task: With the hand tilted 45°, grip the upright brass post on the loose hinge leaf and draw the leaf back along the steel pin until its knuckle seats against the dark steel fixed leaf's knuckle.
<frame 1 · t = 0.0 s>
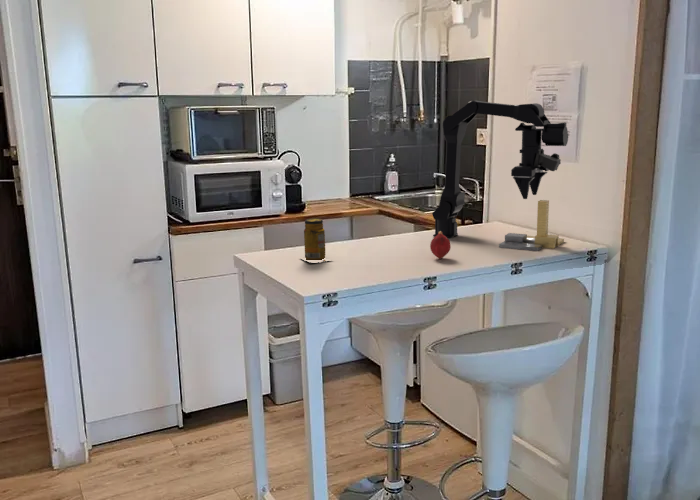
hand: (529, 196, 204), 15 cm above the table, tool pointing down, fingers open, 9 cm apart
fixed leaf: (506, 242, 209), on the table
onion: (440, 259, 191), on the table
loose leaf: (540, 221, 205), point 7 cm above the table, slide at 3.5 cm
condiment: (316, 261, 194), on the table
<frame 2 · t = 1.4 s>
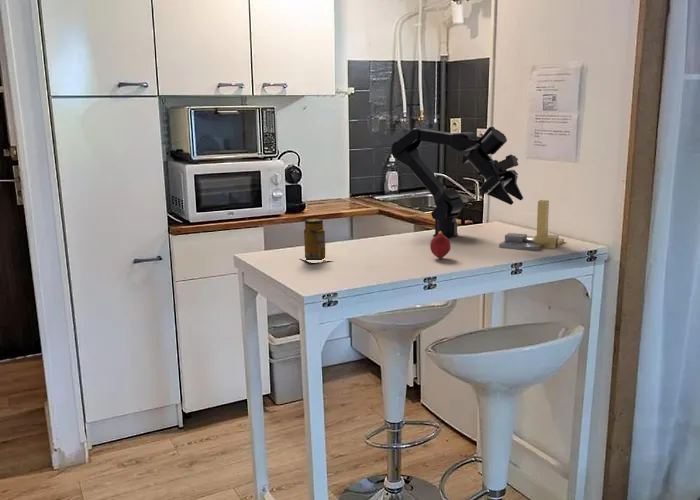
hand: (517, 201, 204), 13 cm above the table, tool tilted 45°, fingers open, 9 cm apart
nothing on the table moved.
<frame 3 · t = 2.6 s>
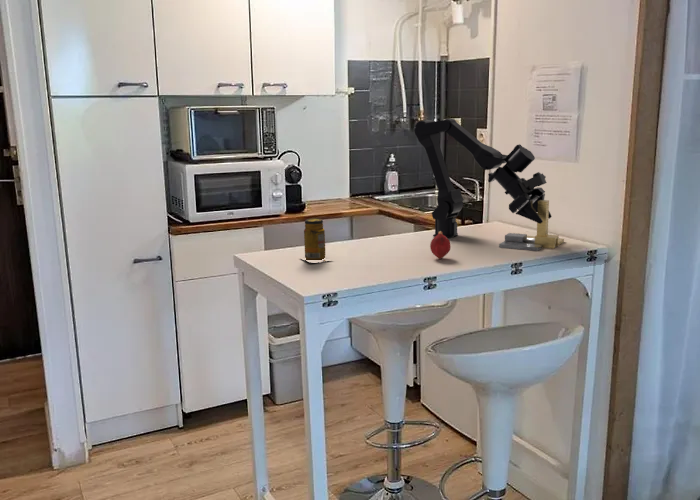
hand: (546, 220, 200), 8 cm above the table, tool tilted 45°, fingers open, 9 cm apart
nothing on the table moved.
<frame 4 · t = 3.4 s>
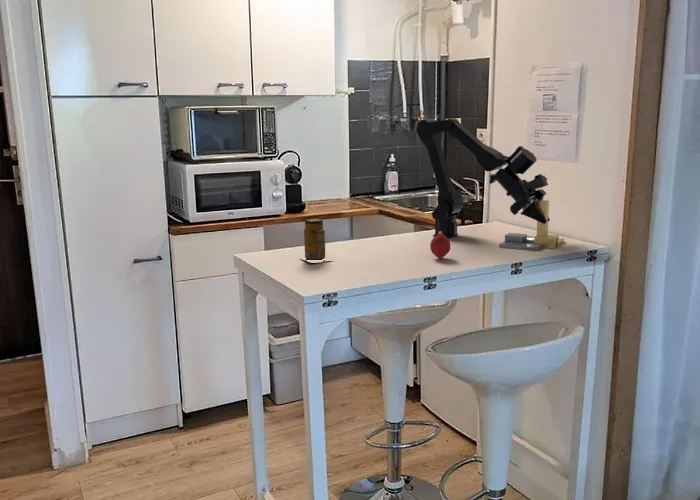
hand: (547, 222, 200), 8 cm above the table, tool tilted 45°, fingers closed on loose leaf, 3 cm apart
loose leaf: (540, 221, 205), point 7 cm above the table, slide at 3.5 cm, touching gripper
everything else where it was.
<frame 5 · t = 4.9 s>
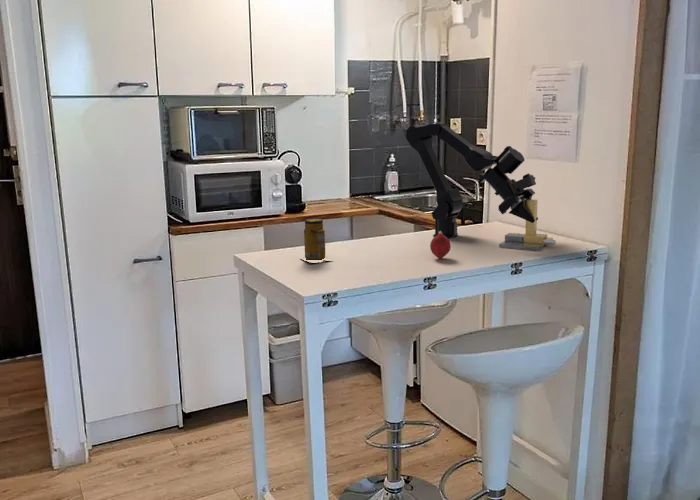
hand: (535, 221, 202), 8 cm above the table, tool tilted 45°, fingers closed on loose leaf, 3 cm apart
loose leaf: (529, 220, 207), point 7 cm above the table, slide at 0.0 cm, touching gripper
everything else where it was.
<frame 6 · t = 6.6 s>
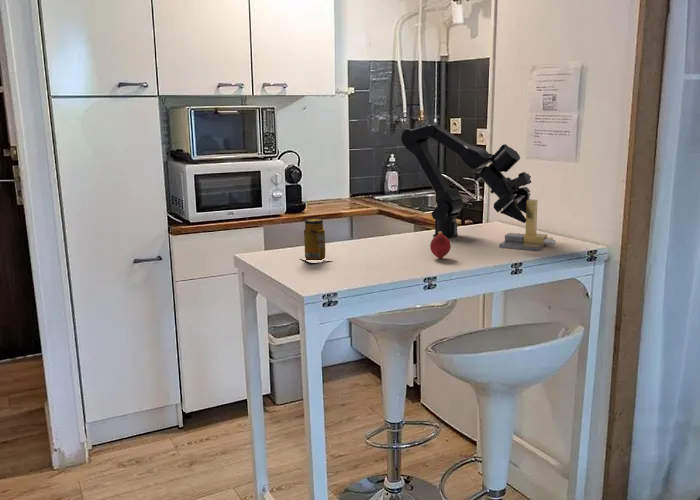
hand: (530, 219, 203), 8 cm above the table, tool tilted 45°, fingers open, 9 cm apart
loose leaf: (529, 220, 207), point 7 cm above the table, slide at 0.0 cm
everything else where it was.
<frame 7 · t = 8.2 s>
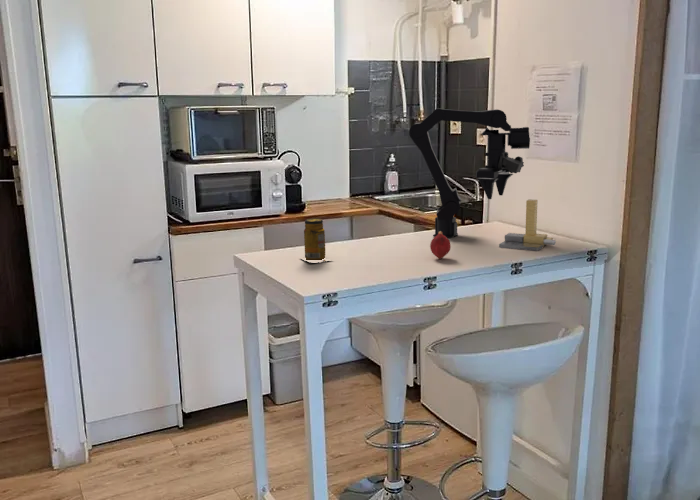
hand: (495, 197, 217), 13 cm above the table, tool pointing down, fingers open, 9 cm apart
nothing on the table moved.
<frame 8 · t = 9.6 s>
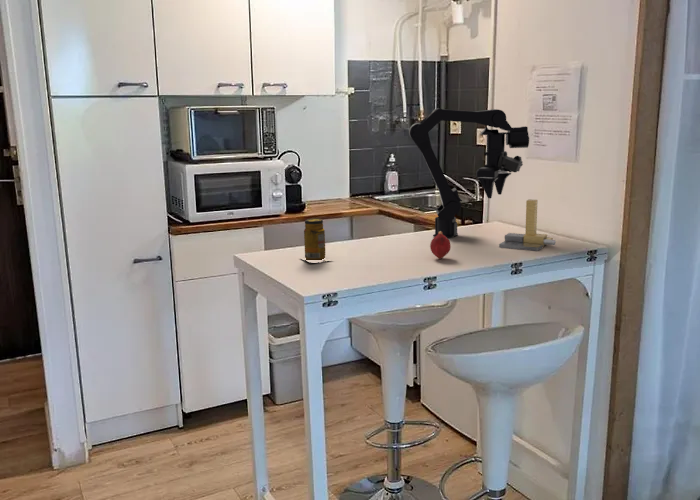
hand: (494, 196, 218), 13 cm above the table, tool pointing down, fingers open, 9 cm apart
nothing on the table moved.
at the end: loose leaf slide at 0.0 cm; the gripper is holding nothing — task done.
